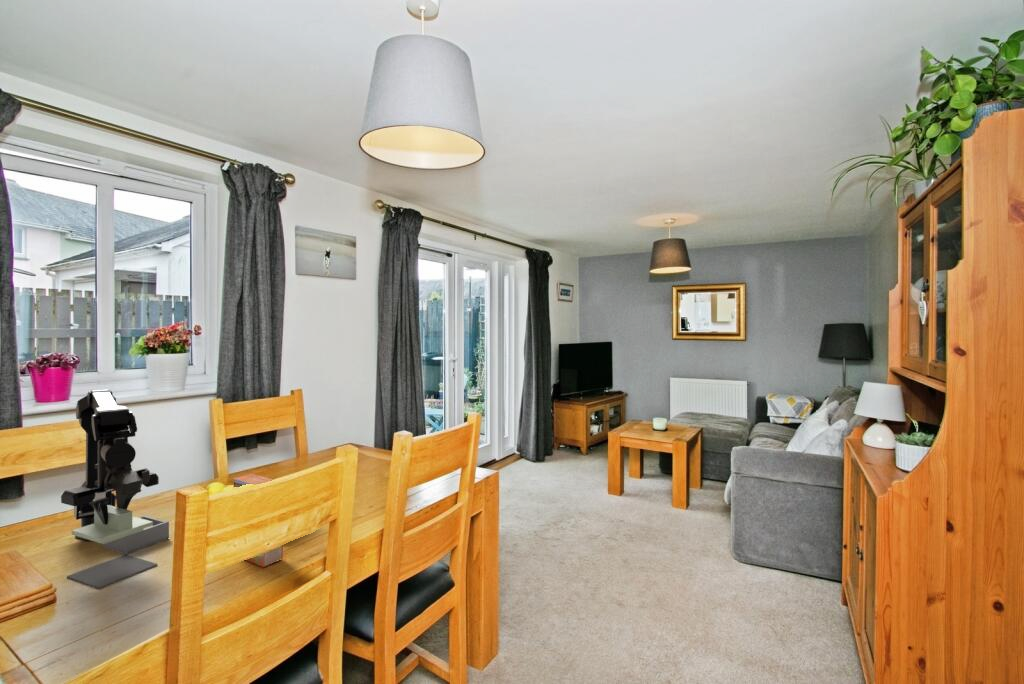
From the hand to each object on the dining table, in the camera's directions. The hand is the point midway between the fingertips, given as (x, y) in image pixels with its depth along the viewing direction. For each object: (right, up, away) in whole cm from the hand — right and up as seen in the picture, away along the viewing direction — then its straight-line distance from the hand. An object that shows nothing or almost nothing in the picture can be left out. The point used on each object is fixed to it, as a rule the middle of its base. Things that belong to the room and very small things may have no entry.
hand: (113, 521), depth 125 cm
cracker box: (+31, -13, +9) cm, 35 cm away
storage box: (-7, -12, +17) cm, 21 cm away
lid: (0, -3, 0) cm, 3 cm away
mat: (0, -12, 0) cm, 12 cm away
